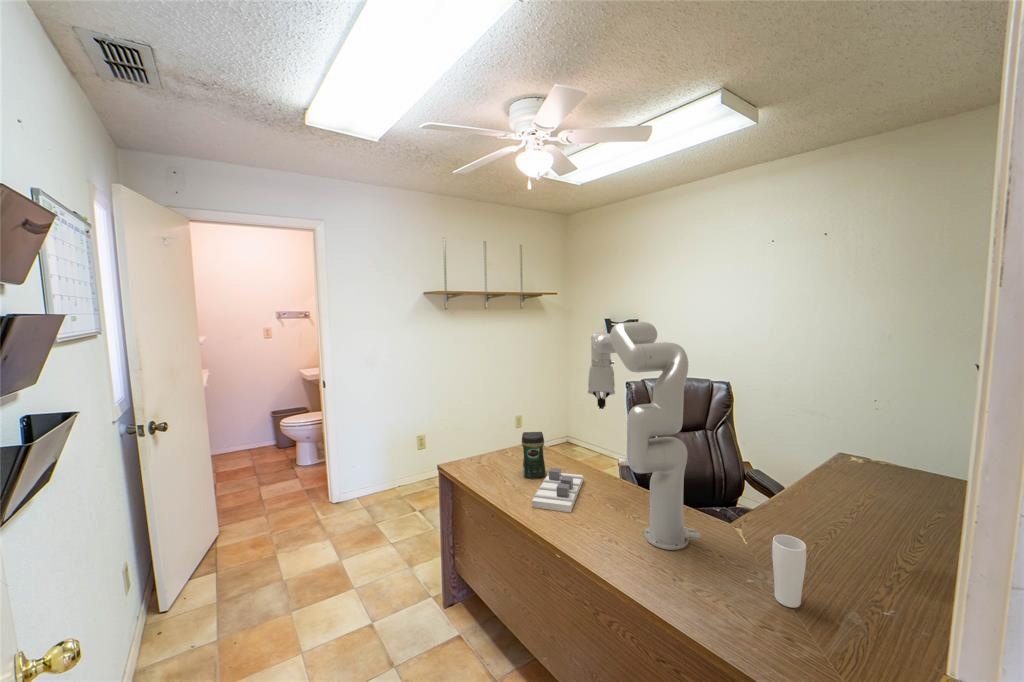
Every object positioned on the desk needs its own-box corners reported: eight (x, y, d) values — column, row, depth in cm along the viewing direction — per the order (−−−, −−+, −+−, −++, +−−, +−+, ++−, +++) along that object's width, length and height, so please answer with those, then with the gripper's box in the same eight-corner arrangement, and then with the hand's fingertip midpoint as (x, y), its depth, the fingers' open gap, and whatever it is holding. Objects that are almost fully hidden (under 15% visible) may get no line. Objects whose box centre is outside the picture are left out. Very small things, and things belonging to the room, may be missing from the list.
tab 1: (561, 476, 169) (560, 468, 169) (559, 480, 166) (558, 472, 165) (551, 475, 170) (551, 467, 170) (549, 479, 167) (548, 471, 167)
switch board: (583, 481, 171) (583, 473, 171) (570, 512, 147) (570, 503, 146) (549, 477, 176) (549, 470, 175) (532, 507, 151) (531, 498, 151)
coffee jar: (545, 470, 183) (543, 429, 181) (545, 478, 175) (544, 435, 173) (522, 471, 183) (521, 429, 181) (522, 479, 175) (520, 435, 173)
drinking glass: (791, 590, 105) (793, 533, 104) (811, 610, 98) (813, 549, 97) (764, 592, 105) (766, 534, 103) (783, 612, 98) (785, 551, 97)
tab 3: (569, 493, 155) (569, 484, 155) (567, 497, 152) (567, 488, 151) (558, 491, 156) (558, 483, 156) (556, 496, 153) (556, 487, 153)
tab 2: (573, 485, 161) (572, 477, 161) (571, 489, 158) (571, 480, 157) (562, 484, 162) (562, 475, 162) (560, 488, 159) (560, 479, 159)
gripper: (620, 362, 171) (621, 406, 173) (583, 361, 176) (584, 404, 178) (619, 365, 164) (619, 411, 166) (580, 364, 169) (581, 409, 171)
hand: (601, 408), depth 172 cm, fingers closed
